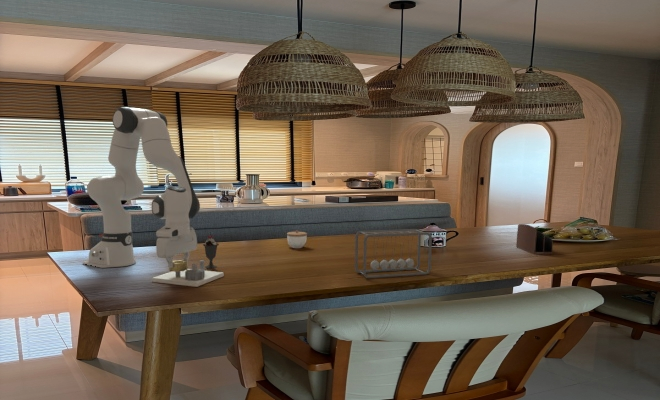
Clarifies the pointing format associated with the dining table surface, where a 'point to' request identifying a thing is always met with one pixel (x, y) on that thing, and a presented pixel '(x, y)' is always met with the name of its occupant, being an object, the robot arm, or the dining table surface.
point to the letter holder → (533, 240)
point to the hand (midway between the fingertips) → (178, 265)
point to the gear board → (189, 276)
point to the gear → (179, 266)
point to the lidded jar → (296, 239)
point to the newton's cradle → (392, 263)
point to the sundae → (210, 250)
